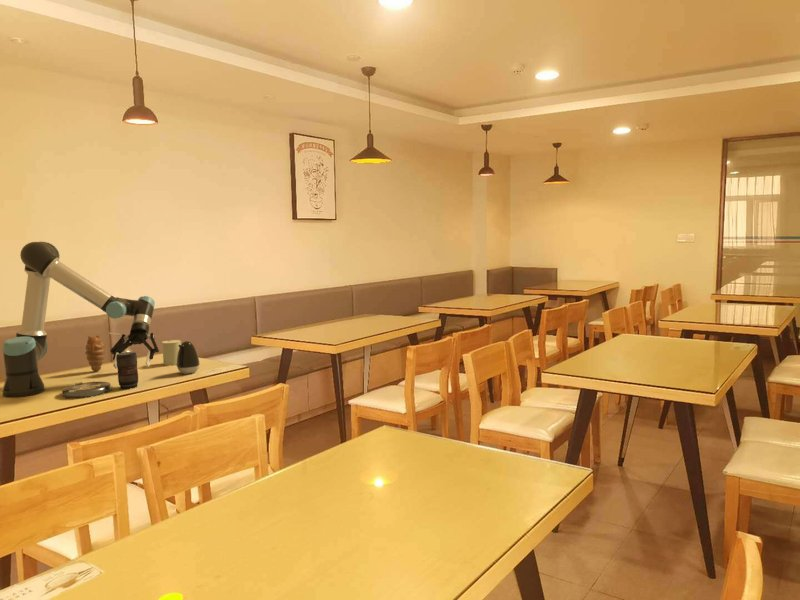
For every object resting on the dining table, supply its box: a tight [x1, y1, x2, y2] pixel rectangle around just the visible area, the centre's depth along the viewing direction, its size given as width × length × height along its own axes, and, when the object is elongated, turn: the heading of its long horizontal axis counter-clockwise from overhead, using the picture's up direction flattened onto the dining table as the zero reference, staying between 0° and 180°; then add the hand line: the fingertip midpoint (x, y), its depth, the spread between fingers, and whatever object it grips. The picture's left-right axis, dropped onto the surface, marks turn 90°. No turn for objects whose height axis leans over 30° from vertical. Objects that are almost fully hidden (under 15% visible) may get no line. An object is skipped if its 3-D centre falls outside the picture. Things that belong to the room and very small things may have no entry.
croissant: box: [85, 334, 106, 372], centre depth 289 cm, size 9×8×18 cm
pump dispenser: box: [176, 340, 200, 375], centre depth 280 cm, size 10×10×15 cm
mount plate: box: [61, 381, 112, 399], centre depth 249 cm, size 18×18×3 cm
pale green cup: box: [161, 339, 182, 366], centre depth 303 cm, size 9×9×12 cm
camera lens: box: [116, 351, 139, 390], centre depth 255 cm, size 8×8×15 cm
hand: (131, 366), depth 256 cm, fingers open, 13 cm apart
